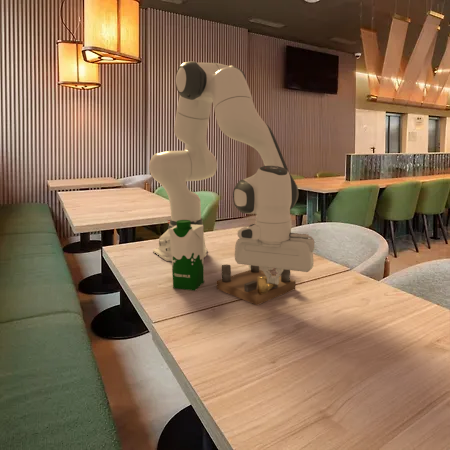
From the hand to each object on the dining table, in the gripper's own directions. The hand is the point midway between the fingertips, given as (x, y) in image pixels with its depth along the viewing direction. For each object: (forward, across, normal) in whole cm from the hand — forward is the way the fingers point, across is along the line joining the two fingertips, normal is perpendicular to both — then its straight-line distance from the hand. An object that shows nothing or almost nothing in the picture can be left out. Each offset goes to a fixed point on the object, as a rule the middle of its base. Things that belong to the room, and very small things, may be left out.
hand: (272, 283), depth 100 cm
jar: (+6, +13, -26) cm, 30 cm away
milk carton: (+6, +27, -3) cm, 28 cm away
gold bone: (+3, +2, -3) cm, 4 cm away
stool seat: (+6, +8, -8) cm, 12 cm away
